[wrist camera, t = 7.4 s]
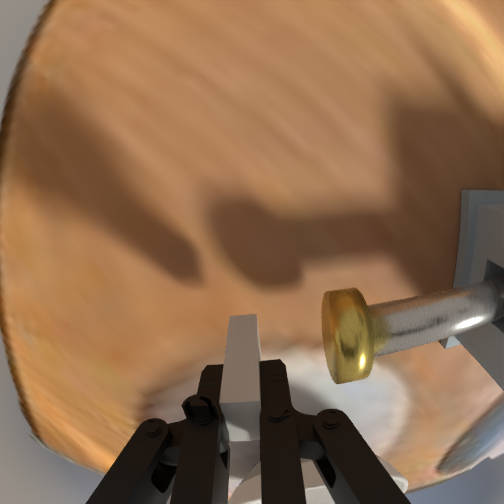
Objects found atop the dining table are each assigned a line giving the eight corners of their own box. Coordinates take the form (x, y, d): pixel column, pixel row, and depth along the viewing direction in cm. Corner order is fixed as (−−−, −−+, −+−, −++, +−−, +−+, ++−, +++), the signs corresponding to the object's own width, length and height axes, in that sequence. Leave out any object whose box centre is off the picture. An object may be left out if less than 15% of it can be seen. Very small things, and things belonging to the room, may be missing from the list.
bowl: (322, 383, 22) (344, 460, 14) (410, 437, 26) (432, 484, 18) (191, 461, 26) (182, 517, 18) (298, 497, 30) (303, 540, 22)
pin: (321, 347, 18) (339, 403, 13) (321, 276, 16) (347, 322, 11) (500, 303, 17) (535, 330, 12) (511, 247, 16) (553, 268, 11)
